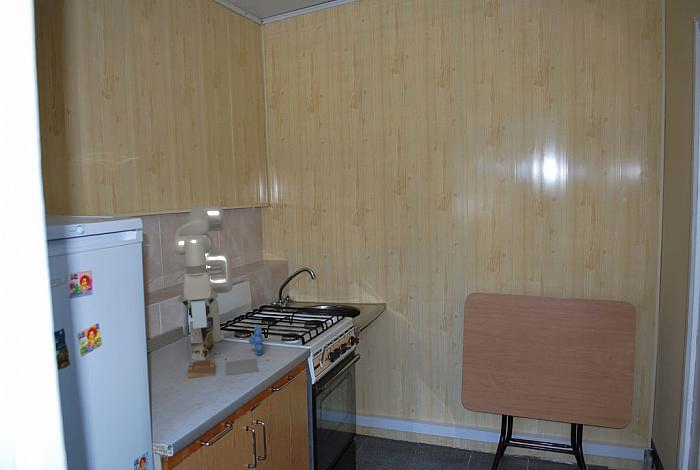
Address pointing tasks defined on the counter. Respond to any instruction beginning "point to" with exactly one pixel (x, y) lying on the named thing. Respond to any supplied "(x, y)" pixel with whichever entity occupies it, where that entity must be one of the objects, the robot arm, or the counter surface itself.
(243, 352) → the counter surface
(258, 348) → the grapes
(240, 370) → the mat
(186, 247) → the robot arm
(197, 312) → the block
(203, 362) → the pocket holder
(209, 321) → the coffee box
